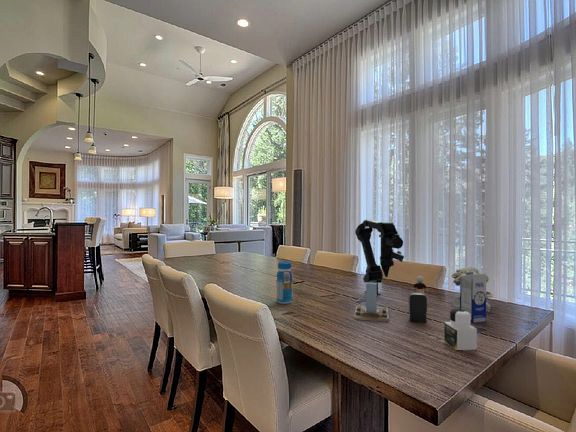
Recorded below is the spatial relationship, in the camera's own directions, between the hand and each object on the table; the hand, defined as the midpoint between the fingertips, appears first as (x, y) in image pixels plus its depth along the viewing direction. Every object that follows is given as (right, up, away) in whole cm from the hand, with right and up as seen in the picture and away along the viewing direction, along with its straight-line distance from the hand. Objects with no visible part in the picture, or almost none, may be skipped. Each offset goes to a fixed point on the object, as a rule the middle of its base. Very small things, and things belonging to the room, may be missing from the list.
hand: (386, 277), depth 160 cm
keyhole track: (-14, -12, -22) cm, 29 cm away
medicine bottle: (+8, -13, -55) cm, 57 cm away
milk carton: (+27, -13, -29) cm, 42 cm away
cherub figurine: (+38, -12, -8) cm, 41 cm away
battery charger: (+3, -13, -30) cm, 33 cm away
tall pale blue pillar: (-14, -11, -25) cm, 30 cm away
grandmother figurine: (+17, -12, -1) cm, 21 cm away
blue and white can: (-52, -12, -2) cm, 54 cm away
